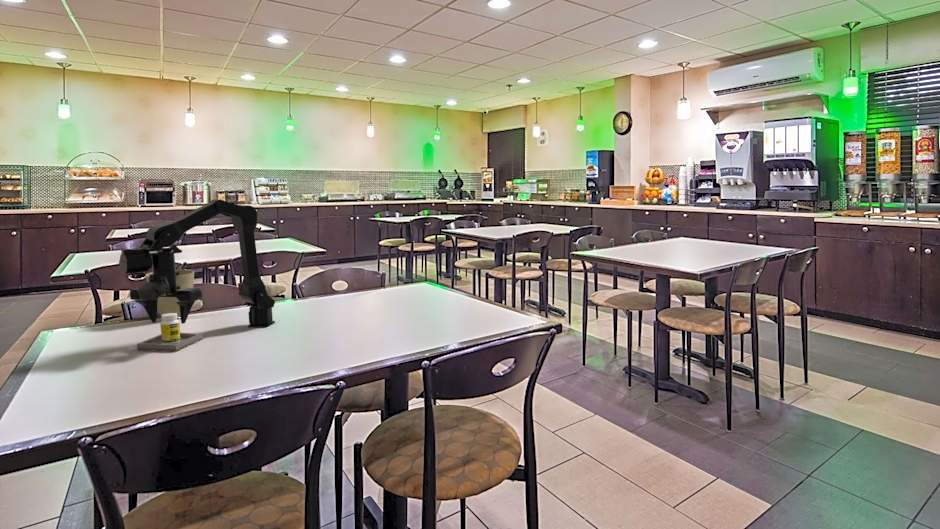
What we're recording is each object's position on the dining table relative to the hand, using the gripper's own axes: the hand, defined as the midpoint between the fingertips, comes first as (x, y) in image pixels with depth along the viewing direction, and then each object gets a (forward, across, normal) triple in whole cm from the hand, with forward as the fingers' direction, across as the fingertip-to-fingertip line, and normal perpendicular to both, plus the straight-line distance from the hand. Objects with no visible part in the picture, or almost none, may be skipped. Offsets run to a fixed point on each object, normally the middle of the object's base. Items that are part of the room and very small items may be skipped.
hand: (168, 322), depth 155 cm
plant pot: (+7, -21, +30) cm, 37 cm away
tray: (+6, 0, 0) cm, 7 cm away
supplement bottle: (+6, 0, 0) cm, 6 cm away
